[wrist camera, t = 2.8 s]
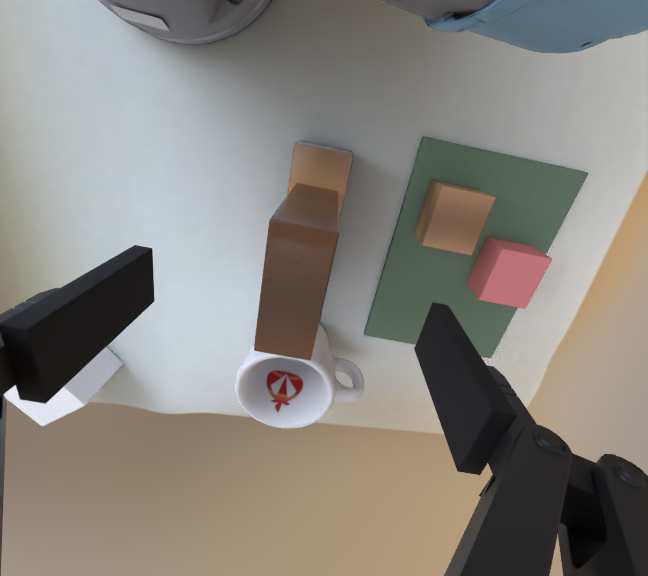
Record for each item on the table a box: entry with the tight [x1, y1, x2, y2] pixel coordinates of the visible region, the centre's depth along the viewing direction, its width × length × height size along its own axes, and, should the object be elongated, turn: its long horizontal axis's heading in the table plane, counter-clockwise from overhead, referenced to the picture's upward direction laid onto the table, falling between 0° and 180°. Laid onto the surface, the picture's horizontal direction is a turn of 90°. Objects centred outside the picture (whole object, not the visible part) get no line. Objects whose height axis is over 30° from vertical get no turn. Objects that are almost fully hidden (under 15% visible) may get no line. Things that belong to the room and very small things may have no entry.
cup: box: [235, 324, 364, 428], centre depth 30 cm, size 11×8×8 cm
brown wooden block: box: [254, 141, 354, 361], centre depth 22 cm, size 12×4×14 cm, turn 169°
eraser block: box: [466, 237, 552, 309], centre depth 27 cm, size 4×4×3 cm
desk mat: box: [364, 137, 588, 358], centre depth 29 cm, size 18×13×1 cm
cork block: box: [414, 180, 496, 255], centre depth 25 cm, size 4×4×3 cm
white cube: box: [4, 347, 123, 426], centre depth 32 cm, size 6×6×6 cm
